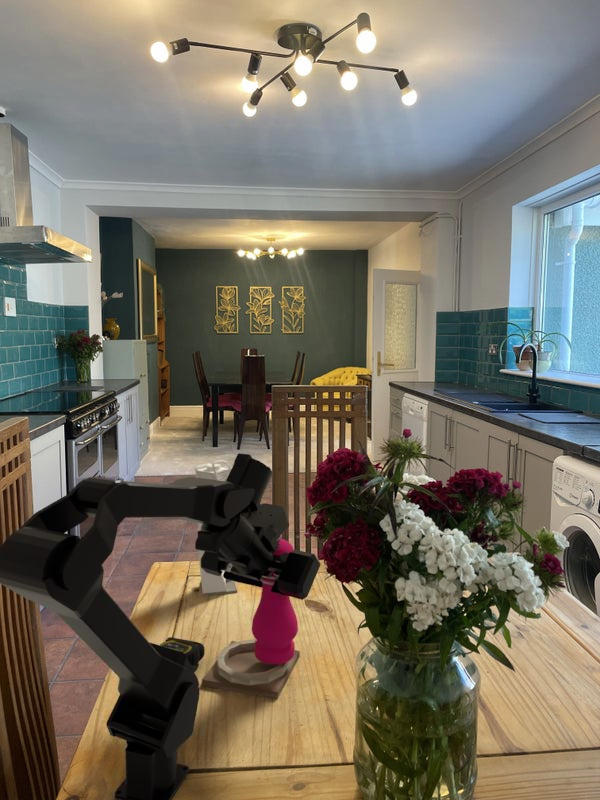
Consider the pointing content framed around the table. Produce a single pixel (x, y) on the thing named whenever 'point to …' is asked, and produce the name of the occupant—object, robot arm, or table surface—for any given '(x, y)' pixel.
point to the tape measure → (186, 649)
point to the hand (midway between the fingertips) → (280, 588)
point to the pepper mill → (274, 620)
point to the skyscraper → (208, 581)
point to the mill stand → (248, 671)
